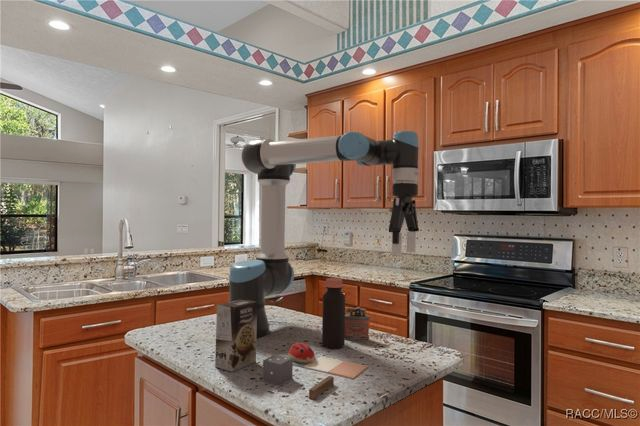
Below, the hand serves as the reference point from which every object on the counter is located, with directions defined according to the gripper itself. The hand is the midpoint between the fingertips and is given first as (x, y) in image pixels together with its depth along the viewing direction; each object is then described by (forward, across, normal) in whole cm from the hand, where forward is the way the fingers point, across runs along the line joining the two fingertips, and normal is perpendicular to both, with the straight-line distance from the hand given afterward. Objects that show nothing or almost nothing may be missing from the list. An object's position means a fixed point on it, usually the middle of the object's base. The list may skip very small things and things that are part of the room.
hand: (404, 253), depth 125 cm
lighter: (+28, 0, +15) cm, 32 cm away
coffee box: (+28, -38, +32) cm, 57 cm away
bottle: (+28, -10, +18) cm, 35 cm away
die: (+28, -40, +17) cm, 52 cm away
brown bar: (+28, -40, +5) cm, 49 cm away
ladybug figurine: (+28, -26, +20) cm, 43 cm away
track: (+28, -26, +13) cm, 40 cm away
